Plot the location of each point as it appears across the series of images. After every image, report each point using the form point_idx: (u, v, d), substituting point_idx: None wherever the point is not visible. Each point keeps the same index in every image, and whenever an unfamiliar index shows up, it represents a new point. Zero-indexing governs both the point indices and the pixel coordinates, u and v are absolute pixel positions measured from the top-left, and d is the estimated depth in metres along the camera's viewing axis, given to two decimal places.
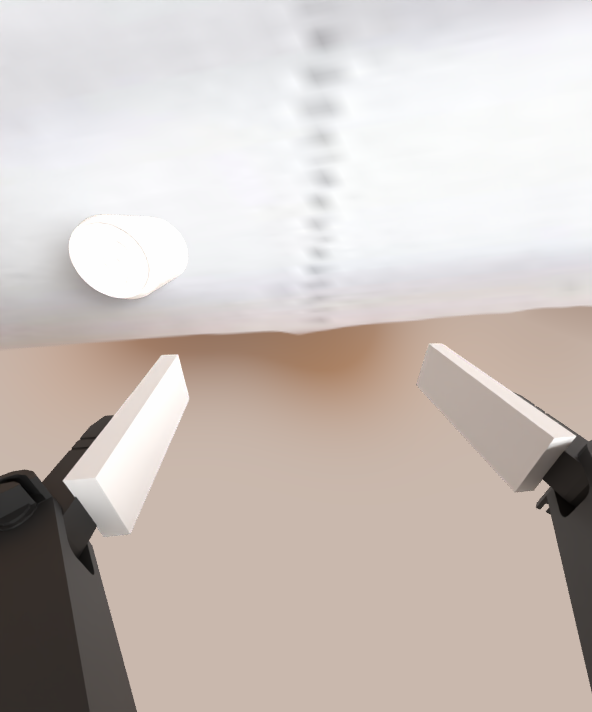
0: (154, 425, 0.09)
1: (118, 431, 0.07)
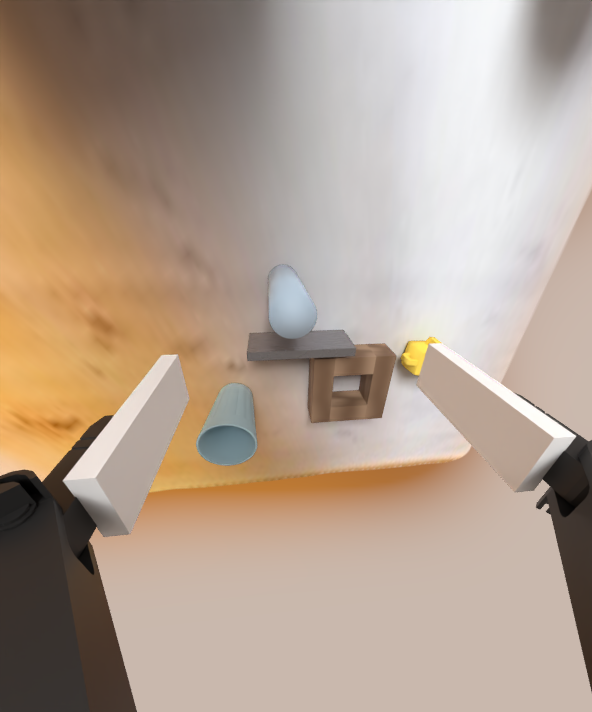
0: (154, 425, 0.09)
1: (118, 431, 0.07)
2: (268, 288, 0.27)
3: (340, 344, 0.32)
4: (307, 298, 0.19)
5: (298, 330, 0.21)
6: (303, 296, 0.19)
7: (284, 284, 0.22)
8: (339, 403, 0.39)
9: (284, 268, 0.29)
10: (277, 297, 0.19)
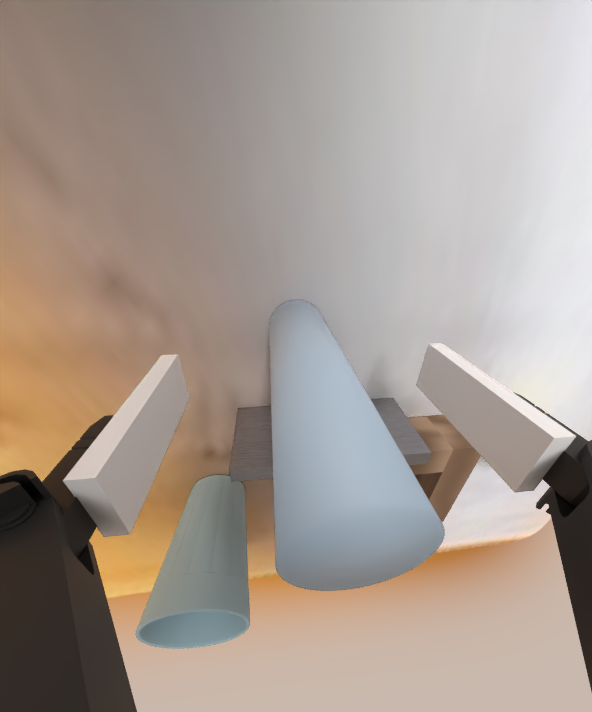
0: (154, 425, 0.09)
1: (118, 431, 0.07)
2: (270, 364, 0.12)
3: (398, 440, 0.18)
4: (423, 514, 0.05)
5: (371, 575, 0.06)
6: (411, 511, 0.05)
7: (319, 404, 0.07)
8: None
9: (302, 313, 0.14)
10: (309, 510, 0.05)
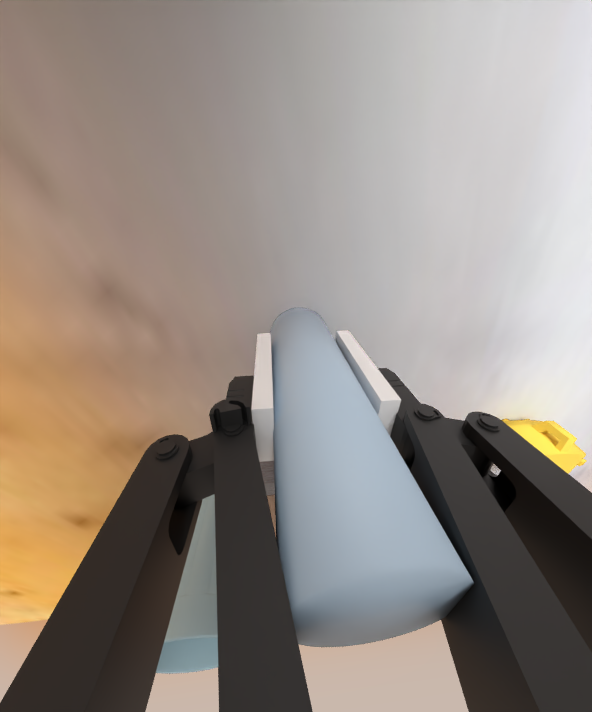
0: None
1: (266, 382, 0.10)
2: (272, 378, 0.12)
3: None
4: (453, 574, 0.04)
5: (387, 630, 0.06)
6: (438, 572, 0.04)
7: (326, 431, 0.07)
8: None
9: (305, 323, 0.14)
10: (318, 569, 0.04)
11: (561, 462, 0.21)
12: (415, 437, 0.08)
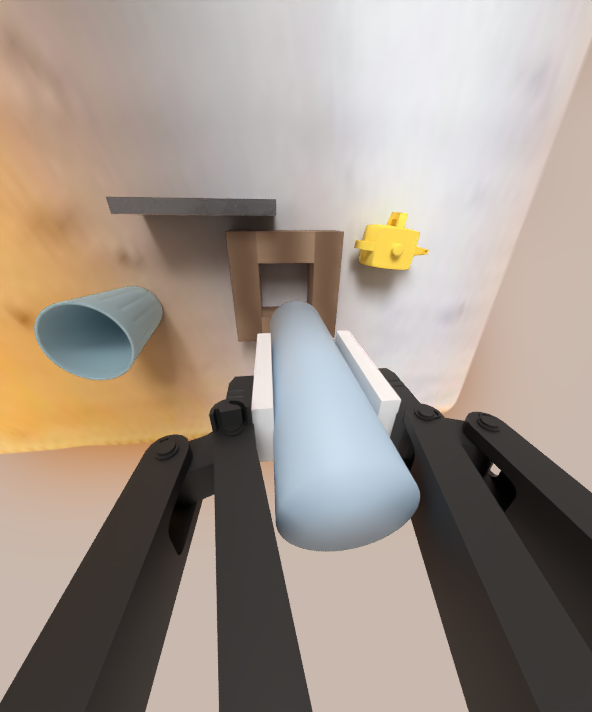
0: None
1: (266, 382, 0.10)
2: None
3: None
4: (400, 475, 0.06)
5: (358, 536, 0.07)
6: (388, 472, 0.06)
7: (314, 390, 0.08)
8: None
9: (300, 313, 0.15)
10: (303, 472, 0.06)
11: (400, 241, 0.26)
12: (416, 437, 0.08)
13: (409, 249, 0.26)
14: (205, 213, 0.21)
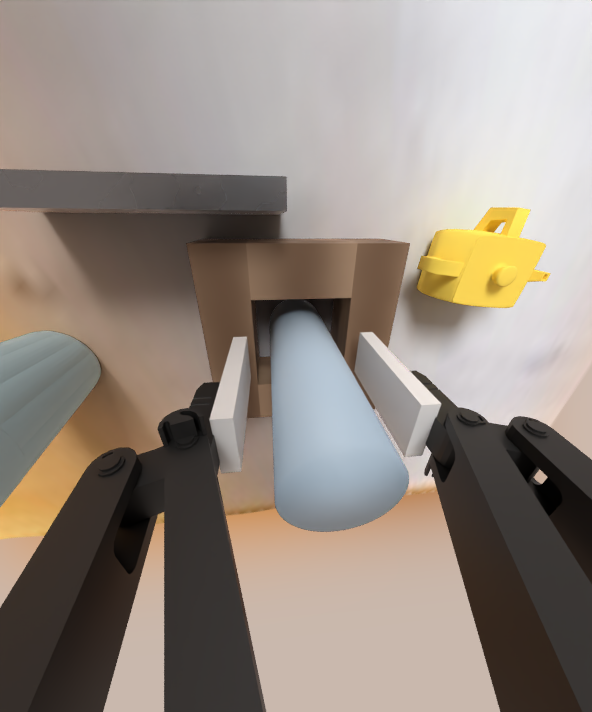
0: (243, 391, 0.11)
1: (231, 389, 0.09)
2: (271, 355, 0.14)
3: None
4: (389, 457, 0.07)
5: (352, 516, 0.08)
6: (379, 454, 0.06)
7: (311, 381, 0.09)
8: None
9: (299, 310, 0.16)
10: (300, 454, 0.07)
11: (510, 259, 0.14)
12: (457, 440, 0.07)
13: (521, 274, 0.15)
14: (132, 206, 0.10)
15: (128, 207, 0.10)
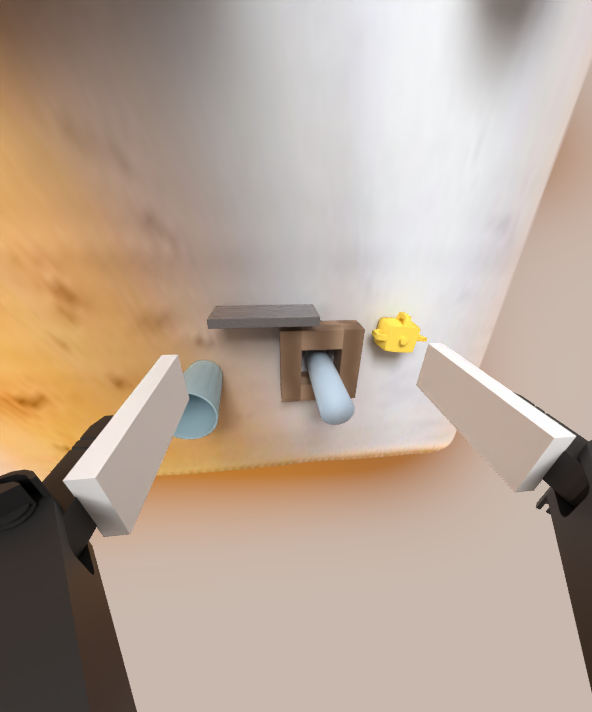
0: (154, 425, 0.09)
1: (118, 431, 0.07)
2: (310, 372, 0.35)
3: (304, 314, 0.32)
4: (348, 400, 0.27)
5: (340, 419, 0.28)
6: (345, 399, 0.27)
7: (328, 382, 0.30)
8: (310, 382, 0.39)
9: (320, 352, 0.37)
10: (327, 399, 0.27)
11: (406, 334, 0.35)
12: None
13: (412, 339, 0.36)
14: (271, 326, 0.31)
15: (269, 326, 0.31)
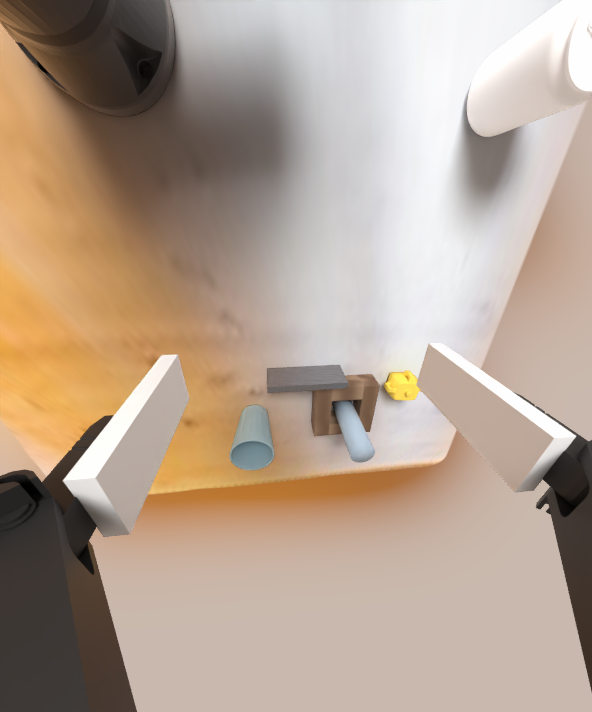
0: (154, 425, 0.09)
1: (118, 431, 0.07)
2: (338, 418, 0.46)
3: (336, 379, 0.43)
4: (370, 447, 0.39)
5: (364, 459, 0.40)
6: (369, 446, 0.39)
7: (355, 431, 0.41)
8: (336, 421, 0.50)
9: (344, 400, 0.48)
10: (356, 446, 0.39)
11: (410, 388, 0.47)
12: None
13: (415, 391, 0.47)
14: (312, 389, 0.42)
15: (311, 389, 0.42)
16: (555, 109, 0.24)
